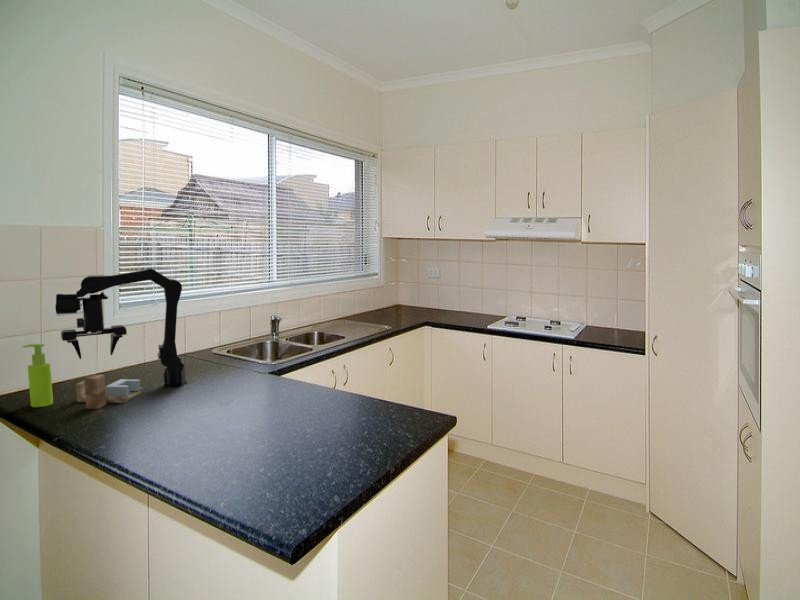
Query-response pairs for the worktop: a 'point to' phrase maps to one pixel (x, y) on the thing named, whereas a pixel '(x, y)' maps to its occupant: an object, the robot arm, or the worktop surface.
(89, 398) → the wooden post
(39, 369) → the soap dispenser
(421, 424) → the worktop surface
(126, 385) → the block
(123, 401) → the shallow wooden tray
